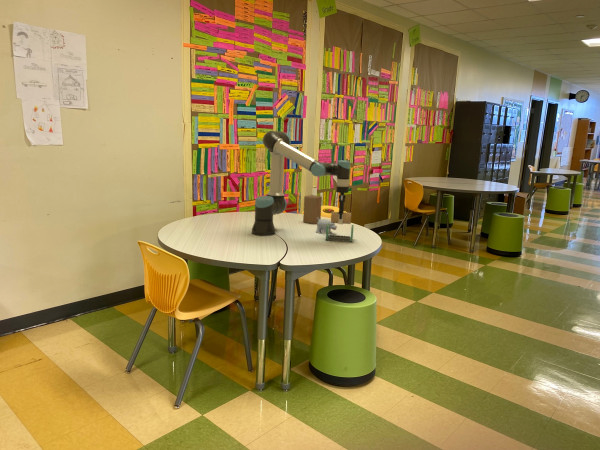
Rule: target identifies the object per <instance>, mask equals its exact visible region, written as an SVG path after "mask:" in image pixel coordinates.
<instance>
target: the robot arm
mask: <svg viewBox="0 0 600 450" xmlns="http://www.w3.org/2000/svg"><path fill="white" fill-rule="evenodd" d="M291 143H292V141H291V137H290V135H289V134H288V133H286V132H284V131H281V130H278V131H277V130H275V131H274V130H270V131H267V132H265V134H264V135H263V137H262V144H263V146H264V148H266V149H267V150H268V152H269V153H270V155H271V157H270V158H271V159H270V172H269V176H270V177H269V191H268V192H267V193H266V195H261V196H258V197H256V198H255V201H254V202H255V203H254V223H253V225H252V228H251V233H252V234H253V235H257V236H273V235H275V234H276V229H275V228H276V227H275V224H274V216H275V215H280V214H281V213H283V212H284V211H286V209H287V205H288V204H287V200H286V198H285V194H284V191H283V187H284V185H283V183H284V169H285V158H286V159H288V160H290V161H292V162H293V163H295V164H296V165H299V166H301V167H302V168H304V169H305V170H307V171H309V172H310V173H311V174H312V175H313V176H314V177H316V178H317V177H318V178H320V177H324V176H336V189H335V192H336V193H338V194H339V195H338V211H337V212H338V214H339V217H338V223H337V224H338V225H343V212H346V211H345V208H344V207H345V203H346V194H348V193H349V191H350V187H349V186H350V183H351V180H350V175H351V161H349V160H339V159H338V160H337V163H335V162H325V161H324V162H320V161H318V160H316V159H315V158H313V157H312V156H309V155H308V154H307V153H304V152H303V151H301V150H299V149H298V148H296V147H293V146H292V145H291Z"/></svg>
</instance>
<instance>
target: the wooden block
mask: <svg viewBox="0 0 600 450" xmlns="http://www.w3.org/2000/svg"><path fill="white" fill-rule="evenodd" d="M322 199H323V197H322V196H321V195H316V194H315V195H314V194H308V195H304V199H303V215H302V216H303V217H302V222H303V223H305V224H311V225H317V223H318V218H319V219H320V220H322V217H321V216H322ZM317 217H318V218H317Z"/></svg>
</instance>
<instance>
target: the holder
mask: <svg viewBox="0 0 600 450" xmlns="http://www.w3.org/2000/svg"><path fill="white" fill-rule="evenodd" d="M329 224H330V223H328V224H327V226H326V234H325V241H329V242H339V243H340V242H343V243H353V240H354V239H353V238H354V226H355V225H354V224H351V228H350V235H336V234H330V232H329Z"/></svg>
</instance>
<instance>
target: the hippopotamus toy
mask: <svg viewBox="0 0 600 450" xmlns="http://www.w3.org/2000/svg"><path fill="white" fill-rule="evenodd" d="M317 218H318V217H317ZM328 223H330V224H329V233H332V232H333V231H336V230H337V228H338V225H335V224H336V223H331V220H329V219H321V220H320V219H319V218H318V223H316V226H317V227H316V231H315V233H316V234H321V235H326V226H327V224H328ZM332 230H333V231H332Z"/></svg>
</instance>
